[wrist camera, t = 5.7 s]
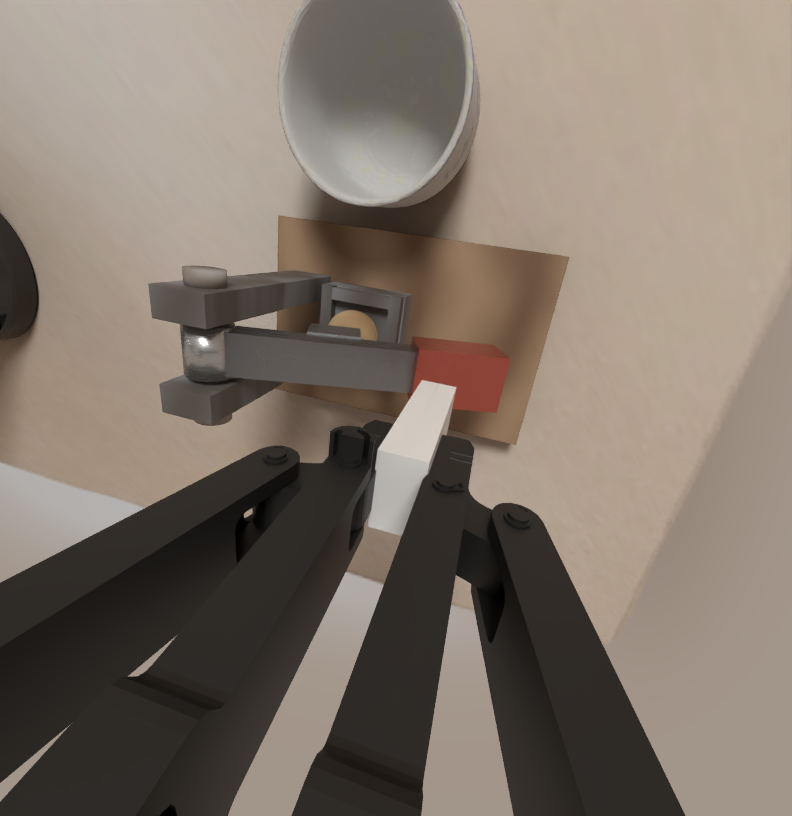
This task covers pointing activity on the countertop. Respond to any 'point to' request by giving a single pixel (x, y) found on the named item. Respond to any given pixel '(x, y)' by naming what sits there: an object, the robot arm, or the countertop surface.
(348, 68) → the teacup
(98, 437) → the countertop surface
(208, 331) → the lever
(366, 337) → the walnut
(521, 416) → the press base
